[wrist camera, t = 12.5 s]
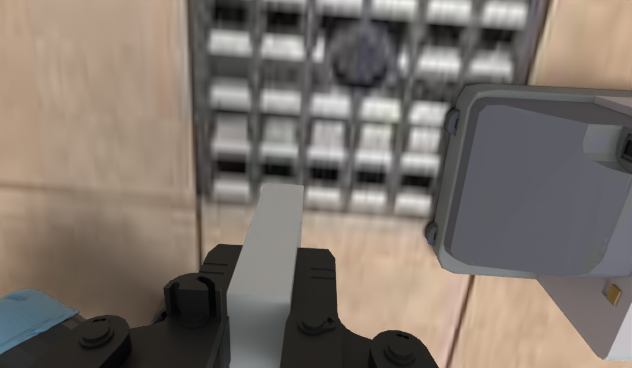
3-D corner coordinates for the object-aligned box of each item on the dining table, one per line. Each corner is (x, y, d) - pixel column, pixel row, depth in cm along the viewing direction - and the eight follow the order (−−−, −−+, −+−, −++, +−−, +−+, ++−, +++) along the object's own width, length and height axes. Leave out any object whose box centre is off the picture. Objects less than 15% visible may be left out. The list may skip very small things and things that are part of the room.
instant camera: (573, 279, 46) (679, 393, 32) (399, 245, 45) (432, 350, 31) (675, 98, 38) (876, 148, 24) (466, 50, 37) (551, 75, 23)
